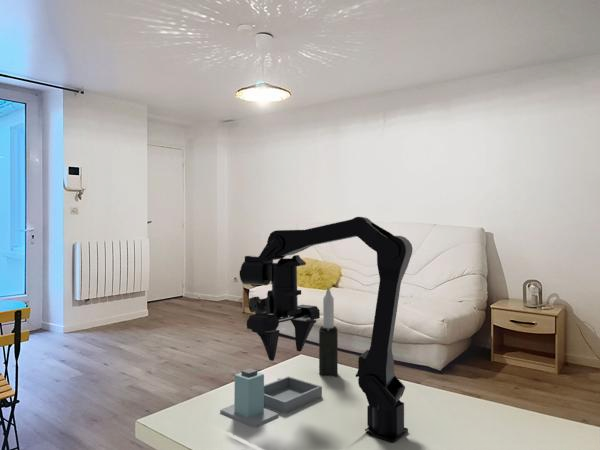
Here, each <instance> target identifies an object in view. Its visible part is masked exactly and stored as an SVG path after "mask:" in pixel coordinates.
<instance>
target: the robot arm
mask: <svg viewBox="0 0 600 450" xmlns="http://www.w3.org/2000/svg"><path fill="white" fill-rule="evenodd" d="M356 237H357V238H358V239H359V240H361V241H362V242H363V243H364V244H365V245H366V246H367V247H369V248H370V249H371V250H373V251H374V252H376V263H377V264H376V265H377V271H378V276H379V277H378V278H379V283H378V291H377V298H376V305H375V312H374V319H373V326H372V331H371V332H372V333H371V338H370V339H371V340H370V347H369V349H366V350H365V351H364V352H363V353H362V354H360V355H359V356H358V361H357V362H358V365H357V366H358V369H357V372H356V374H355V378H358V379H357V381H358V387H359V388H360V389H361V391H362V392H363V393H364V394H365V397H366V401H367V403H368V405H367V407H366V408H367V416H366V417H367V419H366V420H367V423H366V425H367V428H365V429H364V431H365V434H368V435H371V436H373V437H376V438H379V439H382V440H385V441H387V442H390V443H394V442H396V441H398V440H399V439H401V437H403V436H404V435H406V434H407V433H409V428H407V427H405V402H403V401H401V398H402V396H403V395H404V392H405V390H406V386H405V385H404V384H403V382H401V380H399V378H398V377H397V375H396V374H395V360H394V355H393V350H392V349H393V348H392V346H393V342H394V341H393V340H394V333H395V325H396V319H397V313H398V306H399V305H398V304H399V299H400V292H401V284H402V280H403V279H404V277H405V273H406V271H407V269H408V267H409V264H410V262H411V259H412V258H411V257H412V255H413V245H412V243H411V241H410V240H409V239H407V237H405V236H403V235H394V234H393V233H391V232H390V231H388V230H386V229H384V228H383V227H381V226H379V225H378V224H376V223H374V222H373V221H372V220H371V219H369V218H367V217H365V216H364V217H363V216H356V217H354V218H351V219H346V220H342V221H337V222H335V223H334V222H333V223H329V224H324V225H320V226H316V227H310V228H307V229H283V230H282V229H278V230H277V229H276V230H274V231H272V232H270V234H269V236H268V237H267V241H266V242H267V243H266V245H265V246H264V248H263V249H262V251H261V253H260V254H259V255H258V256H256V255H245V256H244V261H243V262H242V264H241V267H240V269H239V279H240V281H241V283H242V284H244V285H250V286H251V285H253V286H268V285H270V283H271V290H267V293H266V296H267V297H264V298H260V297H259V296H253V297H251V298H248V309H249V311H250V313H254V314H251V315H249V316H248V317H247V319H246V329H248V330H251V332H253V333H255V334H257V335H258V337H260V338H259V339H261V342H262V343H263V347H264V349H265V352H266V355H267V358H268V359H269V361H272V362H274V361H275V357H276V356H277V355H276V353H277V349H278V342H279V336H280V330H279V329H278V327H279V325H280V323H284V322H288V321H290V322H291V323H292V325H293V327H294V335H295V337H294V338H295V346H296V347H295V348H296V351H297V352H302V350H303V349H304V346H305V344H306V342H307V339H308V337H309V334H310V332H311V331H312V329H313V327H314V325H315V324H316V323H317V320H318V319H320V318H321V314H320V309H319V307H318V306H316V305H311V304H299V305H298V296H300V295H302V289H298V267H302V266H303V267H304V266H306V265H307V263H306V261H304V260H303V259H302V258H301V257H300V255H299V254H298V253H300V252H303V251H305V250H307V249H309V248H310V247H313V246H316V245H318V246H319V245H321V244H327V243H332V242H337V241H342V240H347V239H352V238H356ZM297 254H298V255H297ZM286 256H292V257H291V258H286ZM277 260H278V261H277ZM274 261H277V262H274Z"/></svg>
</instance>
